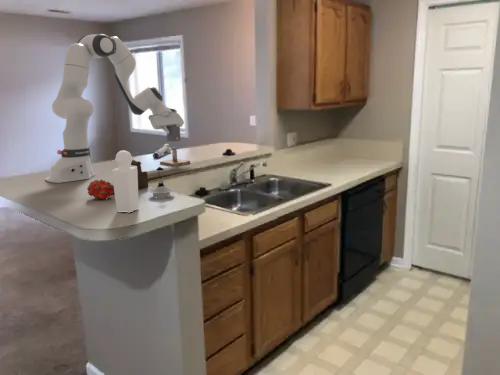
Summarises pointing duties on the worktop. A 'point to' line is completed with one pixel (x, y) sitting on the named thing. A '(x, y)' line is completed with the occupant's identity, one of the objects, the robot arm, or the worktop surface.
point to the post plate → (179, 162)
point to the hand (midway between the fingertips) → (174, 132)
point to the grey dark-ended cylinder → (162, 151)
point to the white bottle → (125, 182)
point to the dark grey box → (173, 133)
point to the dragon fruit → (100, 189)
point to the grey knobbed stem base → (161, 188)
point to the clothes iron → (140, 175)
